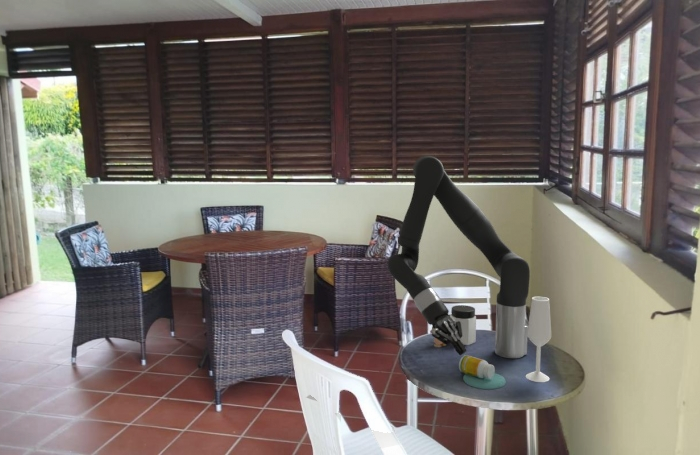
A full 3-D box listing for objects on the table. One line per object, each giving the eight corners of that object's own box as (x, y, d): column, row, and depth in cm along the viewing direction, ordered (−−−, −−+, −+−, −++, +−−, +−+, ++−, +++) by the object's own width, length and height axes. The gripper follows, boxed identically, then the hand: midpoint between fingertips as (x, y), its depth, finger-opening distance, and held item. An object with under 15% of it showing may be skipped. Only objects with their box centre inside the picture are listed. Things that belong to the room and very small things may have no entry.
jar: (460, 335, 199) (461, 303, 197) (479, 340, 193) (480, 308, 191) (445, 341, 192) (445, 308, 191) (464, 347, 187) (465, 313, 185)
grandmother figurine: (441, 341, 192) (442, 306, 190) (450, 344, 189) (450, 309, 188) (427, 347, 187) (427, 311, 185) (436, 350, 184) (436, 313, 183)
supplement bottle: (469, 354, 167) (497, 362, 160) (466, 372, 166) (494, 381, 160) (460, 354, 163) (488, 362, 156) (456, 372, 163) (485, 381, 156)
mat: (489, 369, 167) (489, 368, 167) (514, 385, 156) (514, 384, 156) (455, 375, 163) (455, 374, 163) (478, 391, 152) (478, 390, 152)
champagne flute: (529, 371, 166) (532, 294, 163) (552, 376, 162) (555, 297, 159) (522, 378, 161) (525, 299, 157) (545, 384, 157) (549, 303, 153)
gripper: (424, 303, 164) (458, 352, 157) (450, 295, 173) (483, 341, 166) (410, 317, 169) (443, 365, 162) (436, 308, 178) (468, 353, 171)
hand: (463, 353), depth 164 cm, fingers closed
